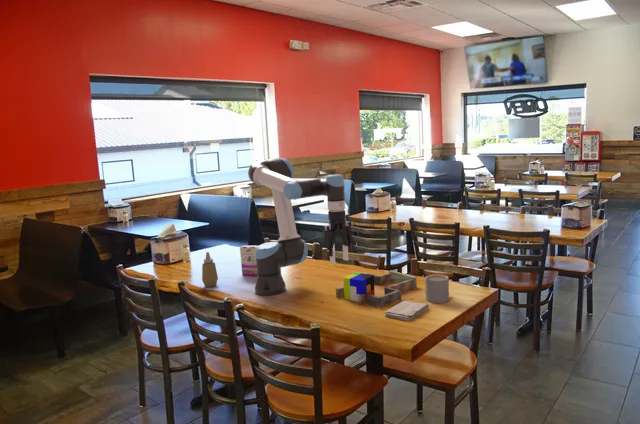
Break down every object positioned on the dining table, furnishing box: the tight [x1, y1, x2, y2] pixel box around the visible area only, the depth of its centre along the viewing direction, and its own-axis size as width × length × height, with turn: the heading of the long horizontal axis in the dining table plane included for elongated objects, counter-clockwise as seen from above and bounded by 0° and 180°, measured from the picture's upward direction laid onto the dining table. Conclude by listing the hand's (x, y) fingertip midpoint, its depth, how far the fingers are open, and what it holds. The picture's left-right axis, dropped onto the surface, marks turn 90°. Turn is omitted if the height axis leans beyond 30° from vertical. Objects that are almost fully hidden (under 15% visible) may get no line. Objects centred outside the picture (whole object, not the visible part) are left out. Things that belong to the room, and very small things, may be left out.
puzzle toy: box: [343, 272, 376, 302], centre depth 242 cm, size 10×10×10 cm
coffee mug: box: [425, 273, 450, 304], centre depth 234 cm, size 13×10×10 cm
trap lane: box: [335, 270, 418, 308], centre depth 249 cm, size 36×32×5 cm
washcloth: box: [384, 300, 430, 322], centre depth 220 cm, size 12×18×3 cm, turn 144°
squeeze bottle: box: [201, 251, 219, 288], centre depth 273 cm, size 8×8×18 cm
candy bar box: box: [239, 244, 259, 277], centre depth 290 cm, size 11×5×16 cm, turn 68°
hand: (339, 261), depth 233 cm, fingers open, 7 cm apart
